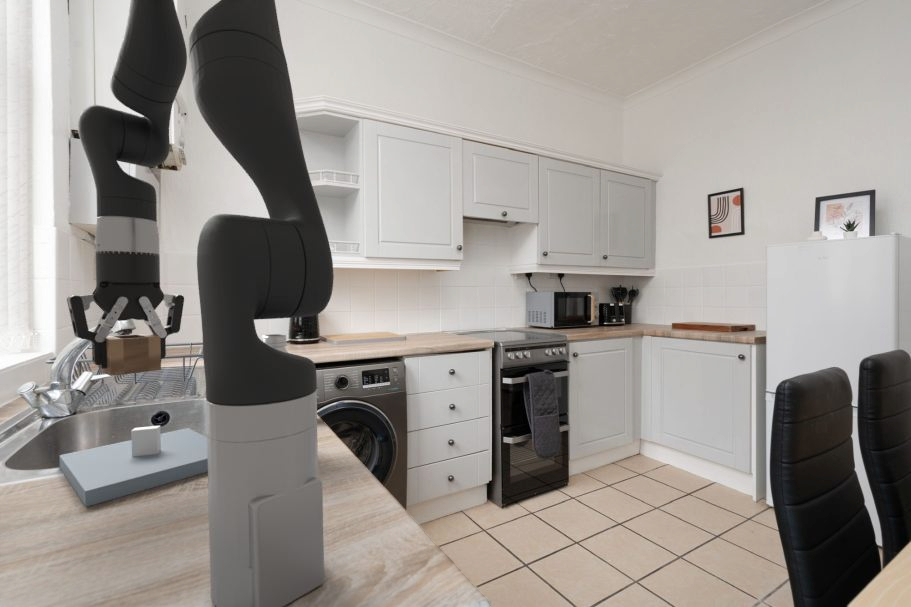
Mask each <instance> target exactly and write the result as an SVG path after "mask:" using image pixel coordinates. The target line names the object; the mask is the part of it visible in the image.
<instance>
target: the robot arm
mask: <svg viewBox="0 0 911 607" xmlns="http://www.w3.org/2000/svg"><path fill="white" fill-rule="evenodd" d="M127 16H128V17H127V21H126V26H125V30H124V35H123V37H122V38H123V39H122V42H121V44H120V48H119V50H118V55H117V57H116V60H115V64H114V67H113V70H112V74H111V77H110V83H109V85H110V86H109V87H110V88H109V89H110V91H111V94H112V95H113V96H114V98H115V99H116V100H117V101H118V102H119V103H121V104H122V105H123V106H125V107H126V108H128V109H130V110H131V111H134V112H135V113H137V114H134V113H130V112H126V111H122V110H119V109H115V108H112V107H109V106H105V105H100V104H99V105H98V104H93V105H92V104H91V105H89V106H88V107H85V108H84V110H82V112H81V113H80V114H79V117H78V121H77V130H78V131H77V132H78V137H79V140H80V142H81V145H82V149H83V151H84V153H85V156H86V158H87V161H88V164H89V167H90V170H91V174H92V177H93V180H94V185H95V190H96V195H95V196H96V217H97V218H96V227H95V233H94V243H93V244H94V245H93V246H94V249H95V283H96V284H95V289H94V291H93V292H92V294H84V295H69V296H68V297H67V299H66V303H67V306H68V307H67V308H68V311H69V316H70V320H71V325H72V329H73V334H74V336H75V337H76V338H78V339H81V340H87V341H90V343H91V356H92V357H91V360H92V361H91V362H93V364H94V365H95V366H98V368H99V369H105V368H107V343H106V342H105V339H106V338H107V336H109V334H110V332H111V331H112V329H114V327H115V325H116V323H117V321H119V322H121V321H122V322H123V321H128V320H136V321H137V320H138V321H143V322H144V324H145V325H146V326H147V327H148V328H149V330H150V332H151V335H156V336H160V342H161V360H162V359H163V360H164V359H165V357H166V355H167V352H166V344H167V342H166V338H167V337H168V336H170V335H173V334H178V333H179V332H180V330H181V324H182V317H183V310H184V303H185V296H184V295H182V294H168V293H164V292H163V290H162V289H161V275H160V274H161V263H160V262H161V260H160V236H159V235H160V234H159V229H158V219H157V217H158V215H157V208H158V207H157V203H158V202H157V191H156V187H155V186H153V185H152V184H151V183H149V182H147V181H145V180H144V179H141V178H138V177H135V176H132V175H130V174H129V173H127V172H125V171H124V170H123V169H122V166H120V163H121V162H122V163H127V164H130V165H136V166H141V167H145V168H155V167H158V166H159V165H161V164H163V163H164V162H165V161H166V160H167V159H168V157H169V155H170V147H171V146H170V127H171V126H170V123H171V115H172V110H173V109H172V108H173V104H174V102H175V99H176V97H177V94H178V92H179V89H180V87H181V85H182V82H183V80H184V77H185V74H186V71H187V70H186V69H187V63H188V62H187V61H188V59H189V65H190V73H191V80H192V81H191V82H192V88H193V94H194V100H195V103H196V105H197V109H198V111H199V113H200V114H201V117H202V119H203V120H204V122H205V123H206V124H207V126H208V128H210V130H211V132H213V134H214V136H215V137H216V138H217V140H218V141H219V142H220V143H221V144H222V146H223V147H224V148H225V149H226V151H227V152H228V153H229V154H230V156H232V158H233V159H234V160H235V161H236V162H237V163H238V165H239V166H240V167H241V168H242V169H243V170H244V172H245V173H246V174H247V176H248V177H249V178H250V179H251V181H252V182H253V183H254V185H255V187H256V188H257V190H258V191H259V194H260V196H261V198H262V200H263V202H264V204H265V207H266V210H267V213H268V216H269V217H261V216H251V215H250V216H249V215H243V214H242V215H241V214H232V213H231V214H230V213H220V214H215V215H212V216H210V217H209V218H208V219H207V221H206V222H205V223H204V224H203V226H202V229H201V231H200V233H199V238H198V242H197V246H196V247H197V249H196V250H197V252H196V254H197V255H196V269H197V271H196V273H197V284H198V285H197V286H198V295H199V306H200V307H199V308H200V318H201V332H202V351H203V352H202V353H203V354H202V356H203V367H204V377H205V399H206V400H205V401H206V403H205V404H206V431H207V432H206V437H207V458H208V472H207V490H208V491H207V492H208V496H207V497H208V499H207V500H208V539H209V542H208V543H209V544H208V546H209V569H210V570H209V572H210V573H209V575H210V598H211V601H212V603H213V605H214V606H215V607H285V606H286V605H288V604H291V603H292V602H294V601H295V600H296V599H299V598H301V597H302V596H304V595H306V594H307V593H309V592H311V591H313V590H314V589H316V588H317V587H320V586H321V585H323V584H324V583H325V554H324V550H325V549H324V545H325V544H324V541H325V540H324V501H323V500H324V497H323V490H324V489H323V481H322V480H321V479H320V478H319V452H318V400H317V399H318V398H317V391H318V390H317V388H318V386H317V385H318V384H317V383H318V381H317V368H316V367H317V366H316V364H315V363H314V361H313V360H312V359H310V358H308V357H306V356H302V355H297V354H295V353H294V354H293V353H290V352H288V353H286V352H282V351H279V350H276V349H274V348H272V347H270V346H269V345H267V344H265V343H264V342H263V341H262V339H260V337H259V336H258V333H257V329H256V325H255V324H256V323H255V321H256V320H273V319H276V320H277V319H285V318H286V319H291V318H292V319H295V318H306V317H307V318H308V317H313V316H316V315H318V314H321V313H322V312H323V311H325V309H326V308H327V307H328V304H329V303H330V300H331V297H332V294H333V290H334V288H333V287H334V277H335V276H334V263H333V255H332V250H331V247H330V243H329V242H330V241H329V237H328V233H327V231H326V227H325V223H324V220H323V217H322V213H321V210H320V207H319V204H318V200H317V197H316V193H315V191H314V187H313V185H312V180H311V178H310V177H311V176H310V173H309V170H308V167H307V166H308V165H307V162H306V158H305V154H304V150H303V145H302V141H301V135H300V130H299V124H298V120H297V115H296V109H295V108H296V107H295V101H294V94H293V89H292V83H291V78H290V77H291V76H290V73H289V66H288V62H287V59H286V55H285V54H286V53H285V51H284V46H283V42H282V36H281V31H280V25H279V19H278V13H277V6H276V0H219V1H218V2H216V3H215V4H214V5H213V6H212V7H210V8H208V9H207V10H206V11H205V12H204V13H203V14H202V15H201V17H200V18H199V19H198V20H197V21H196V22H195V24H194V26H193V28H192V29H191V32H190V34H189V38H188V40H189V41H188V50H187V47H186V43H185V42H186V41H185V39H184V34H183V31H182V27H181V23H180V19H179V17H178V13H177V9H176V6H175V0H130V1H129V9H128V15H127ZM187 52H188V54H187ZM187 55H188V56H187ZM138 114H139V115H138ZM119 162H120V163H119ZM93 302H94V303H95V304H96V305H97V306H98V308H99V309H101V310H102V314H101V316H100V318H99V320H98V322H97V325H96V326H95V328H94V330H93V331H92V330H89V325H88V321H87V320H88V319H87V316H86V311H87V310H89V309H90V306H91V304H92V303H93ZM162 302H164V305H165V307H166V308H167V309H168V310H167V318H166V323H165V324H166V325H164V326H163V324H162V320H161V319H160V316H158V314H157V312H156V309H157V308H158V307H159V306H160V304H161V303H162Z"/></svg>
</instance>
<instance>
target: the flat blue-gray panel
mask: <svg viewBox="0 0 911 607" xmlns="http://www.w3.org/2000/svg"><path fill="white" fill-rule="evenodd" d="M161 432H162V430H161V425H152V426H143V427H142V426H141V427H140V426H139V427H134V428H133V429H131V436H130V437H131V439H129V440H125V441H120V442H116V443H112V444H106V445H102V446H96V447H91V448H88V449H82V450H78V451H74V452H69V453H64V454H60V455H59V469H60V470H61V472H62V474H63V475H64V477H66V478H65V479H66V480H67V481H68V483H69V484H70V486H71V487H72V489H73V490H74V492H75V493H76V494H77V496H78V498H79V499H80V501H81V503H82V504H83V505H84V507H86V508H87V507H90V506H94V505H97V504H101V503H104V502H108V501H111V500H115V499H118V498H121V497H126V496H128V495H129V496H130V495H132V494H136V493H139V492H143V491H145V490H149V489H152V488H156V487H160V486H163V485H166V484H169V483H174V482H177V481H180V480H184V479H187V478H190V477H194V476H198V475H201V474H203V473H208V458H207V436H205V435H203V434H201V433H199V432H197V431H195V430H193V429H191V428H190V427H186V428H181V429H177V430H172V431H168V432H167V431H166V432H163V433H161Z"/></svg>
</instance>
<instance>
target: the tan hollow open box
mask: <svg viewBox="0 0 911 607" xmlns="http://www.w3.org/2000/svg"><path fill="white" fill-rule="evenodd" d="M105 342H106V343H107V368H105V369H100V368H99V369H100V370H99V371H100V372H102V373H104V374H106V375H108V376H110V377H114V376H121V375H129V374H131V375H132V374H137V373H138V374H139V373H147V372H154V371H162V359H161V342H160V336H156V335H153V334H152V333H151V334H150V333H139V334H138V333H137V334H124V335H108V336H107V338H106V339H105Z"/></svg>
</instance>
